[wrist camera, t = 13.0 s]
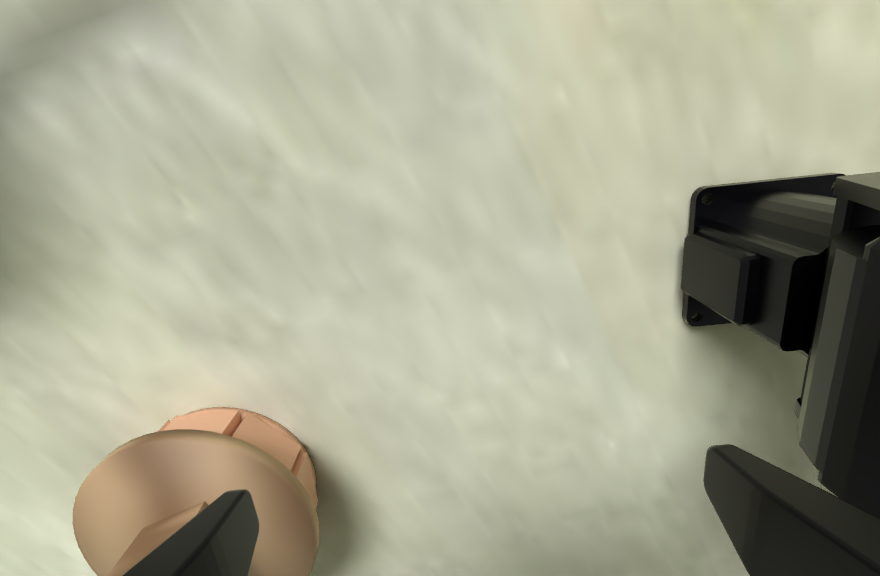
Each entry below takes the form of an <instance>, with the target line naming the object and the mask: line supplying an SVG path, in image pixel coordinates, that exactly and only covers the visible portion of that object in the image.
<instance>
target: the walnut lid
mask: <svg viewBox="0 0 880 576" xmlns="http://www.w3.org/2000/svg"><path fill="white" fill-rule="evenodd" d="M239 489H246V490H248V491H249V492H250V493H251V496H252V499H253V502H254V506H255V509H256V512H257V516H258V519H259V534H258V538H257V542H256V546H255V550H254V554H253V558H252V562H251V565H250V569H249V573H248V576H309V574H310V572H311V570H312V567H313V564H314V560H315V557H316V553H317V549H318V545H319V536H320V528H319V519H318V516H317V512H316V508H315V506H314V504H313V501H312V499H311V497H310V495H309V494H308V492H307V490H306V489H305V487H304V486H303V484H302V483H301V482H300V481H299V480H298V478H297V477H296V476H295V475H294V474H293V473H292V472H291V471H290V470H289V469H288V468H287V467H286V466H285V465H284V464H283V463H281V462H280V461H278V460H277V459H276V458H274V457H273V456H272V455H270V454H269V453H267V452H265V451H263V450H262V449H260V448H258V447H256V446H254V445H252V444H250V443H248V442H245V441H243V440H240V439H237V438H234V437H231V436H228V435H225V434H220V433H216V432H211V431H203V430H194V429H175V430H166V431H159V432H155V433H150V434H146V435H143V436H141V437H138V438H135V439H133V440H130V441H129V442H127V443H125V444H123V445H121V446H120V447H118V448H117V449H116V450H114V451H113V452H112V453H110V454H109V455H108V456H107V457H106V458H105V459H104V460H103V461H102V462H101V463H100V464H99V465H98V466H97V467H96V468H95V469H94V470H93V471H92V472H91V473H90V474H89V475H88V476H87V477H86V479H85V481H84V482H83V484H82V485H81V487H80V489H79V491H78V494H77V496H76V498H75V503H74V508H73V527H74V534H75V537H76V540H77V543H78V546H79V548H80V550H81V552H82V554H83V556H84V558H85V560H86V561H87V563H88V564H89V565H90V567H91V568H92V570H93V571H94V572H95V573H96V574H97V575H98V576H122V575H123V574H124V573H126V572H127V571H128V570H129V569H131V568H132V567H133V566H134V565H135V564H137V563H138V562H139V561H140V560H142V559H143V558H144V557H145V556H147V555H148V554H149V553H150V552H152V551H153V550H154V549H155V548H156V547H158V546H159V545H160V544H161V543H163V542H164V541H165V540H166V539H168V538H169V537H170V536H171V535H173V534H174V533H175V532H176V531H177V530H179V529H180V528H181V527H182V526H184V525H185V524H186V523H187V522H189V521H190V520H191V519H192V518H194V517H195V516H196V515H197V514H198V513H200V512H201V511H202V510H203V509H205V508H206V507H207V506H208V505H210V504H211V503H212V502H213V501H215V500H216V499H217V498H218V497H219V496H221V495H222V494H223V493H225V492H226V491H230V490H239Z"/></svg>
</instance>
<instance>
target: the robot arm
mask: <svg viewBox="0 0 880 576" xmlns="http://www.w3.org/2000/svg"><path fill="white" fill-rule="evenodd" d="M834 181H835V187H834V188H833V189H831V186H832V183H833V182H834ZM705 194H708V200H707V201H706V202H705V203H702V197H703V196H704V195H705ZM681 289H682V290H683V291H684V298H683V311H682V317H683V319H684V321H685V322H687V323H688V324H690V325H691V326H706V325H716V324H726V323H734V324H735V325H737V326H744V327H746V328H748V329H749V330H751V331H752V332H754V333H756V334H757V335H759V336H760V337H762V338H764V339H765V340H767V341H769V342H770V343H772V344H773V345H775V346H777V347H778V348H780V349H781V350H783V351H796V350H797V351H799V352H800V353H802V354H804V355H805V356H807V357H808V360H807V366H806V371H805V377H804V383H803V388H802V394H801V398H798V399H797V402H796V408H795V414H796V415H797V417H798V419H799V422H798V436H799V445H800V446H801V448H802V449H803V450H804V452H805V453H806V455H807V456H808V458H809V459H810V460H811V462H812V463H813V465H814V466H815V467H816V468H817V469H818V470H819V471H818V480H819V481H820V483H821V484H822V485H824V486H825V487H826V488H827V489H828V490H830V491H831V492H832V493H833V494H835V495H836V496H837V497H836V496H834V495H832V494H830V493H828V492H826V491H824V490H822V489H820V488H818V487H816V486H814V485H812V484H810V483H808V482H806V481H804V480H802V479H800V478H798V477H796V476H794V475H792V474H790V473H788V472H786V471H784V470H782V469H780V468H778V467H776V466H774V465H772V464H770V463H768V462H766V461H764V460H762V459H760V458H758V457H756V456H754V455H752V454H750V453H748V452H746V451H744V450H742V449H740V448H738V447H736V446H734V445H729V444H727V445H716V446H711V447H709V448H708V450H707V453H706V462H705V471H704V486H705V490H706V493H707V495H708V497H709V499H710V501H711V503H712V505H713V506H714V508H715V510H716V512H717V514H718V516H719V518H720V520H721V522H722V524H723V526H724V528H725V530H726V532H727V534H728V535H729V537H730V539H731V541H732V543H733V545H734V547H735V549H736V551H737V553H738V555H739V557H740V559H741V561H742V562H743V564H744V566H745V568H746V570H747V571H748V573H749V575H750V576H880V172H876V173H866V174H857V175H847V176H846V175H844V174H836V173H827V174H818V175H808V176H798V177H789V178H779V179H770V180H760V181H750V182H741V183H731V184H722V185H712V186H703V187H700V188H698V189H697V190H695V191H694V193H693V194H692V198H691V207H690V220H689V233H688V235H687V237H686V238H685V242H684V256H683V269H682V283H681ZM695 312H698V315H697V316H696V317H695V318H692V315H693V314H694V313H695ZM258 534H259V519H258V516H257V512H256V509H255V506H254V502H253V499H252V496H251V493H250V492H249V491H248V490H246V489H239V490H230V491H226V492H225V493H223V494H222V495H221V496H219V497H218V498H217V499H216V500H215V501H213V502H212V503H211V504H210V505H208V506H207V507H206V508H205V509H203V510H202V511H201V512H200V513H198V514H197V515H196V516H195V517H194V518H192V519H191V520H190V521H189V522H187V523H186V524H185V525H184V526H182V527H181V528H180V529H179V530H177V531H176V532H175V533H174V534H173V535H171V536H170V537H169V538H168V539H166V540H165V541H164V542H163V543H161V544H160V545H159V546H158V547H156V548H155V549H154V550H153V551H152V552H150V553H149V554H148V555H147V556H145V557H144V558H143V559H142V560H140V561H139V562H138V563H137V564H135V565H134V566H133V567H132V568H131V569H129V570H128V571H127V572H126V573H124V574H123V575H122V576H248V573H249V569H250V565H251V562H252V558H253V554H254V550H255V546H256V542H257V538H258Z"/></svg>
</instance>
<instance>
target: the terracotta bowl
mask: <svg viewBox="0 0 880 576" xmlns="http://www.w3.org/2000/svg"><path fill="white" fill-rule="evenodd" d="M175 429H194V430H203V431H211V432H216V433H220V434H225V435H228V436H231V437H234V438H237V439H240V440H243V441H245V442H248V443H250V444H252V445H254V446H256V447H258V448H260V449H262V450H263V451H265V452H267V453H269V454H270V455H272V456H273V457H274V458H276V459H277V460H278V461H280V462H281V463H283V464H284V465H285V466H286V467H287V468H288V469H289V470H290V471H291V472H292V473H293V474H294V475H295V476H296V477H297V478H298V480H299V481H300V482H301V483H302V484H303V486H304V487H305V489H306V490H307V492H308V494H309V495H310V497H311V499H312V501H313V504H314V506H315V508H316V506H317V503H318V498H317V493H316V474H315V469H314V466H313V463H312V460H311V458H310V456H309V454H308V452H307V451H306V449H305V448H304V446H303V445H302V444H301V443H300V442H299V440H298V439H297V438H296V437H295V436H294V435H293V434H292V433H290V432H289V431H288V430H287V429H286V428H284V427H283V426H281V425H280V424H278V423H277V422H275V421H273V420H271V419H269V418H267V417H265V416H263V415H260V414H258V413H254V412H251V411H248V410H243V409H238V408H228V407H214V408H206V409H200V410H197V411H193V412H190V413H188V414H185V415H183V416H176V417H175V418H174V419H173V420H172V421H169V420H168V421H167V422H166V423H165V424H164V426H163V427H162V428H161V429H160V430H159V431H166V430H175ZM159 431H158V432H159Z"/></svg>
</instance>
